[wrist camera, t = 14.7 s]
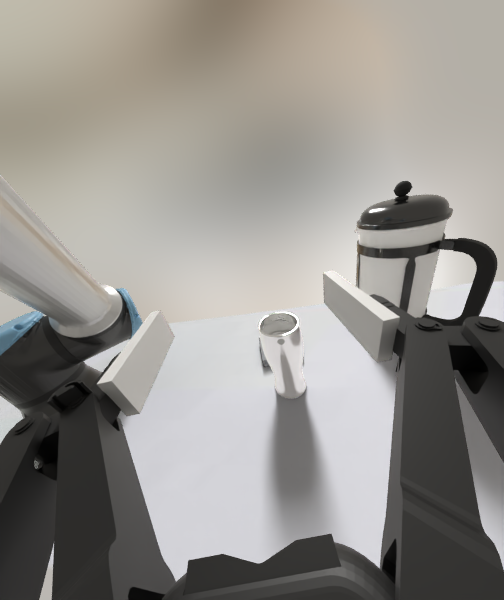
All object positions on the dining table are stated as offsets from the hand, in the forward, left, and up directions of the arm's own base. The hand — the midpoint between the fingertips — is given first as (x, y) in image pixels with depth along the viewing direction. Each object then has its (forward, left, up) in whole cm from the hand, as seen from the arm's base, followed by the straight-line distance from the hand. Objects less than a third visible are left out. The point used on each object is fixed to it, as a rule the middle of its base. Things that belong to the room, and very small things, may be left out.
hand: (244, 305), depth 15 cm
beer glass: (-8, +8, -26) cm, 28 cm away
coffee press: (-2, +35, -26) cm, 43 cm away
